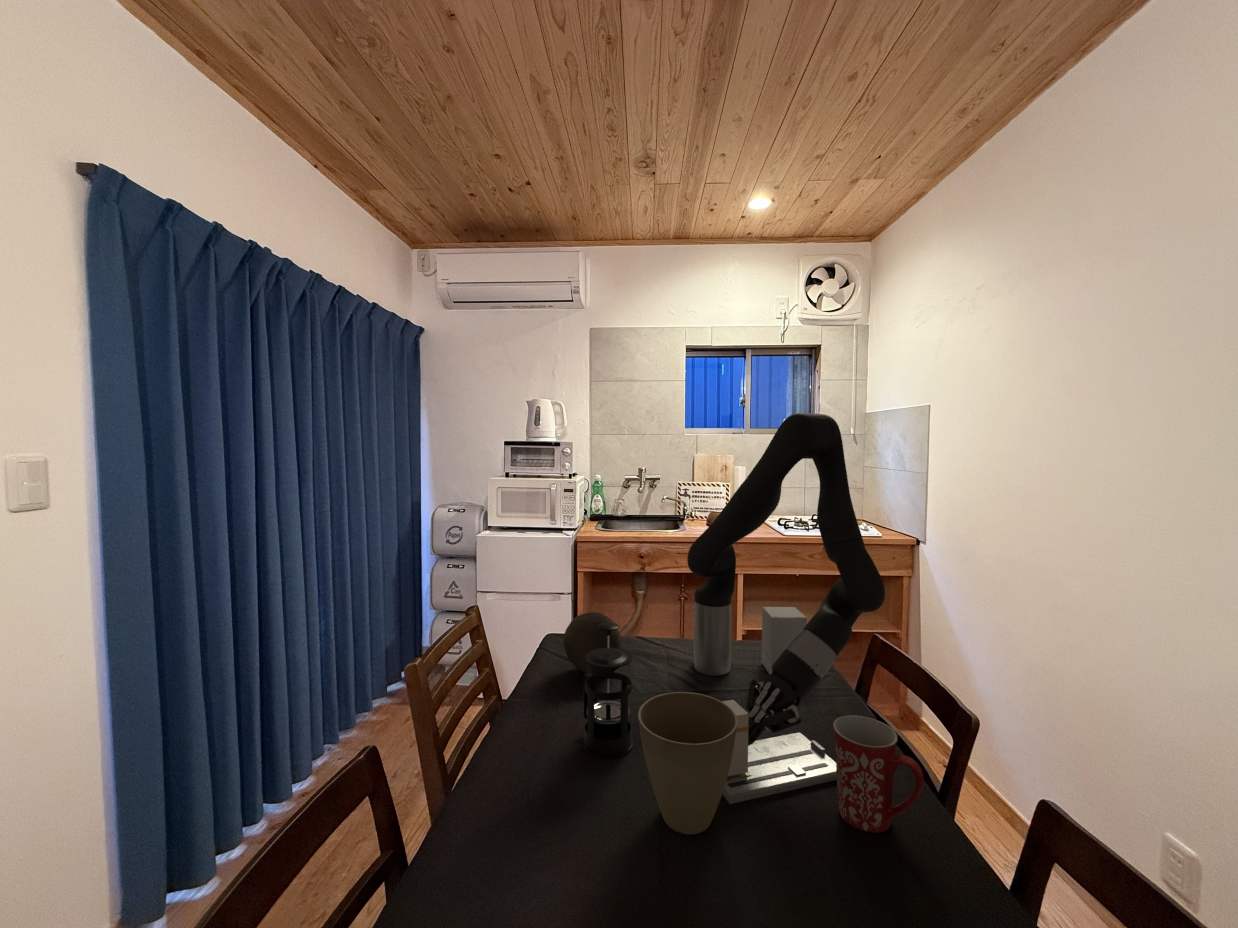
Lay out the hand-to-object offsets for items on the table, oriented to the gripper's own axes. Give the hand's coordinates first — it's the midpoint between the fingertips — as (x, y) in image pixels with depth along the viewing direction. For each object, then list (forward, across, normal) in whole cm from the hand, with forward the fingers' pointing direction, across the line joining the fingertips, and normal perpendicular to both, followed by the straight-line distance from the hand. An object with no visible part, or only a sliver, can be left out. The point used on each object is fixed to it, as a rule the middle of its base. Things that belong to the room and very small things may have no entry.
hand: (743, 740), depth 89 cm
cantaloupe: (+15, -46, -6) cm, 49 cm away
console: (+1, 0, +8) cm, 8 cm away
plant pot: (+14, +7, -6) cm, 16 cm away
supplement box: (-18, -34, +27) cm, 47 cm away
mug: (-5, +16, +14) cm, 22 cm away
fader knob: (+5, 0, +1) cm, 5 cm away
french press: (+18, -16, -10) cm, 26 cm away
